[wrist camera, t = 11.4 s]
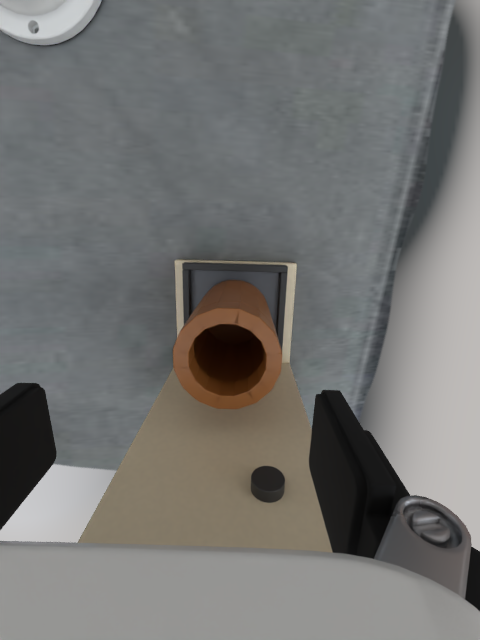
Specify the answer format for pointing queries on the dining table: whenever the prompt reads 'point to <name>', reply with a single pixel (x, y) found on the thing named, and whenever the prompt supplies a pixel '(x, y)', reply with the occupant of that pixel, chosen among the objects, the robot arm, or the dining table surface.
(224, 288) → the brown hollow cylinder
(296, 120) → the dining table surface
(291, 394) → the coffee maker
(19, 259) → the dining table surface
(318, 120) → the dining table surface
